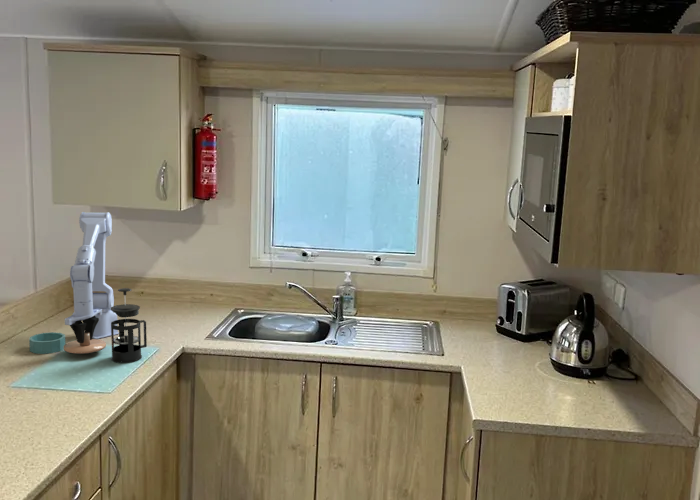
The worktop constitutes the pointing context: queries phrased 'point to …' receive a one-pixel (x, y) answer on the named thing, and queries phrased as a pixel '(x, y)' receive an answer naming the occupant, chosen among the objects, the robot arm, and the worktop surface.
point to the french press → (126, 342)
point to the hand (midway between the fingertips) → (84, 341)
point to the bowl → (47, 343)
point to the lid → (85, 345)
